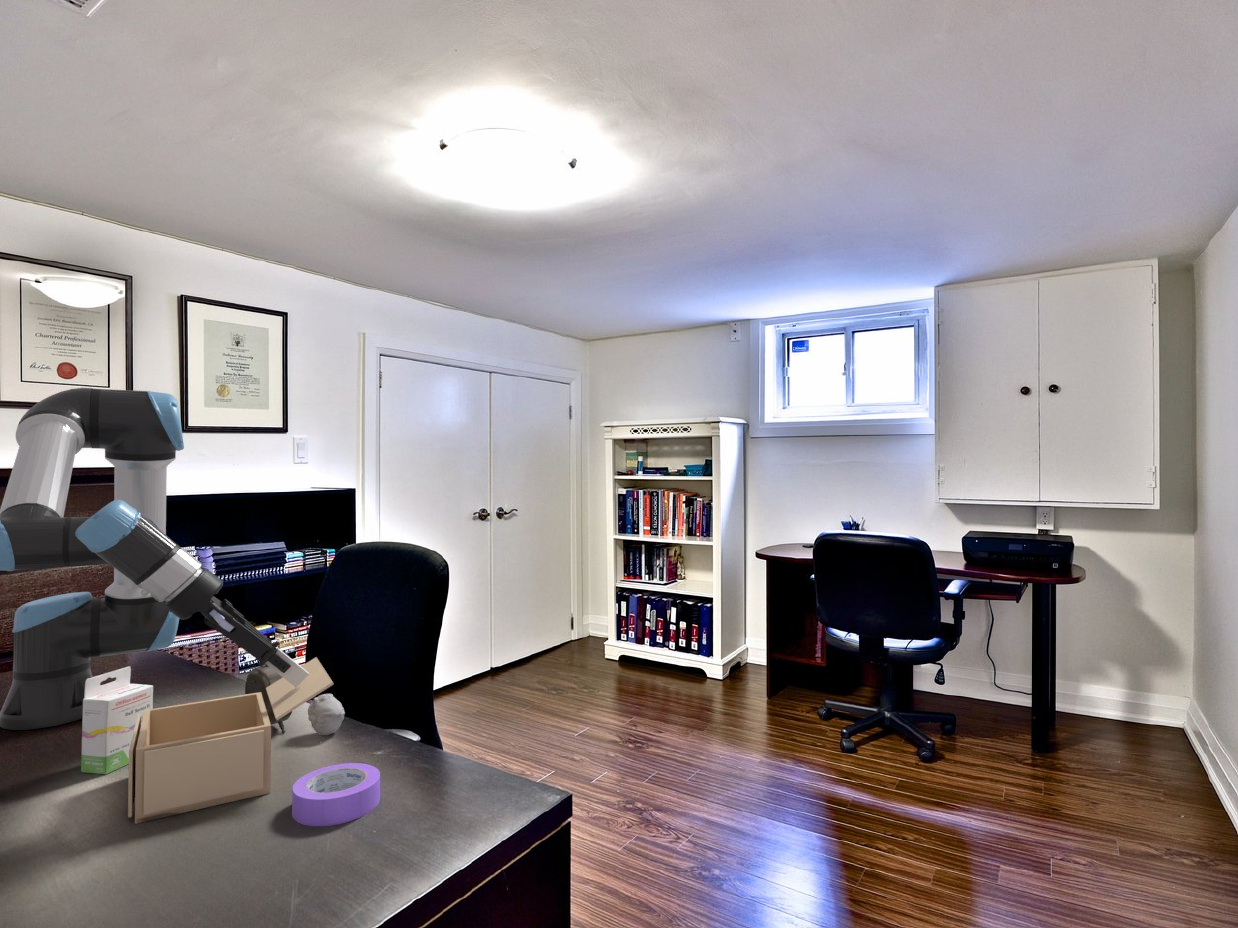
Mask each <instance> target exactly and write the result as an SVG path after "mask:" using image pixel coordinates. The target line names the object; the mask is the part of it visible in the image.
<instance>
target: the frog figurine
mask: <svg viewBox="0 0 1238 928" xmlns="http://www.w3.org/2000/svg"><path fill="white" fill-rule="evenodd" d="M345 714H346V712H345V709H344V707H343V705H342V703H341V702H340V701H339V700H338V699H337V698H336V697H335V696H334V695H333V694H332V693H324V694H320V695H318V696H317V697H316V696H314V697H313V698H312V701H311V702H310V703H309V706H308V708H307V715H308V718H307V719H308V721H309V722H310V725H311V727H312V729H313V730H314V731H315V733H317V734H319V735H321V736H328V735H331V734H333V733H335V732H336V731H338V730H339V729H340V727H341V725H342V722H343V720H344V719H345Z"/></svg>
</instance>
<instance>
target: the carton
mask: <svg viewBox="0 0 1238 928" xmlns="http://www.w3.org/2000/svg"><path fill="white" fill-rule="evenodd" d="M271 747H272V725H271V724H270V720H269V717H268V714H267V710H266V707H265V704H264V700H263V697H262V693H261V692H259V693H252V694H246V695H245V694H241V695H233V696H227V697H221V698H214V699H207V700H201V701H194V702H188V703H183V704H182V703H181V704H174V705H169V706H163V707H162V706H161V707H156V708H153V709H148V710H144V715H143V719H142V724H141V713H138V716H137V720H136V724H135V728H134V732H133V736H132V741H131V745H130V749H129V764H128V786H127V787H128V793H127V795H128V796H127V799H128V802H127V803H128V804H127V817H128V818H131V817H133V812H134V824H140V823H143V822H145V823H146V822H149V821H152V820H157V819H162V818H166V817H171V816H176V815H179V814H183V813H189V812H192V811H193V812H194V811H197V810H201V809H206V808H211V807H215V806H218V805H219V806H220V805H223V804H228V803H232V802H236V801H242V800H245V799H249V798H250V799H251V798H255V797H258V796H262V795H267V794H271V782H272V781H271V778H272V777H271V775H272V774H271V773H272V771H271V770H272V769H271V766H272V764H271V763H272V762H271V759H272V748H271Z"/></svg>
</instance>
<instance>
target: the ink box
mask: <svg viewBox="0 0 1238 928" xmlns="http://www.w3.org/2000/svg"><path fill="white" fill-rule="evenodd" d="M131 668H132V667H131V666H126V667H122V668H119V669H116V670H112V671H109V672H108V671H107V672H105V673H103V674H100V675H99V674H98V675H95V676H93V677H92V678H88V679H87V680H86V681H85V691H84V699H83V718H82V721H81V723H82V728H81V729H82V730H81V762H80V765H81V766H80V767H81V769H80V772H81V773H86V774H87V773H89V774H95V775H96V774H98V775H108V774H110V773H112V772H114V771H117V770H119V769H120V768H124V767H125V766H129V749H130V745H131V741H132V736H133V732H134V728H135V724H136V720H137V716H138V713H141V724H142V719H143V715H144V710H148V709H154V708H153V707H154V706H153V705H154V701H153V700H154V685H151V684H141V683H131V674H132V669H131ZM109 678H110V679H114V678H115V680H113V681H111V682H108V683H105V684H101V683H102V682H104V681H106V680H107V679H109Z"/></svg>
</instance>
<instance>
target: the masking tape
mask: <svg viewBox="0 0 1238 928" xmlns="http://www.w3.org/2000/svg"><path fill="white" fill-rule="evenodd" d="M291 793H292V794H291V798H292V799H291V815H292V818H293V820H295V822H297V823H298V824H302V825H305V826H310V827H328V826H335V825H341V824H345V823H348V822H351V821H352V822H353V821H354V820H357V819H359V818H362V817H364V816H366V815H367V814H369V813H371V812H372V811H373V810H375V808H376V807H377V806H378V805H379V803H380V801H381V772H380V770H379V769H378V768H377V767H375V766H373V765H371V764H367V763H360V762H359V763H358V762H350V763H340V764H334V765H328V766H324V767H321V768H318V769H315V770H313V771H310V772H308V773H306V774H304V775H302V776H301V777H299V778H298V779H297V780H296V781H295V782H294V783H293V785H292V787H291Z"/></svg>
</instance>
